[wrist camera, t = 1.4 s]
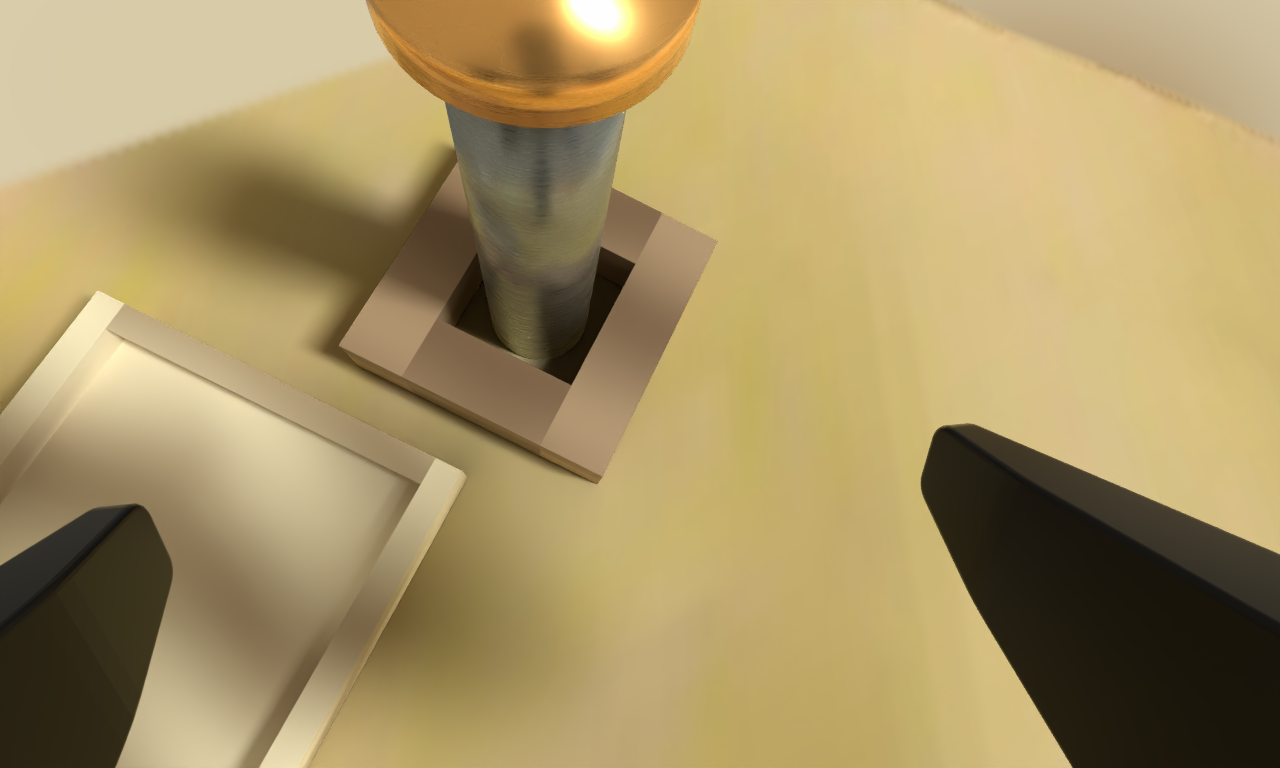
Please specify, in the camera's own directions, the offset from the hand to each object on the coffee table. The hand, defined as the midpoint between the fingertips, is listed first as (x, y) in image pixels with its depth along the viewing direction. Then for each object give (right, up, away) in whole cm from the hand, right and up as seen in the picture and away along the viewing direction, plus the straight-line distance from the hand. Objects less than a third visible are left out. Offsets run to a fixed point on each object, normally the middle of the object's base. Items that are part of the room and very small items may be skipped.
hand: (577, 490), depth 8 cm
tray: (-12, -4, +11) cm, 16 cm away
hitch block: (-2, +3, +14) cm, 14 cm away
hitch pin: (-2, +3, +14) cm, 14 cm away
